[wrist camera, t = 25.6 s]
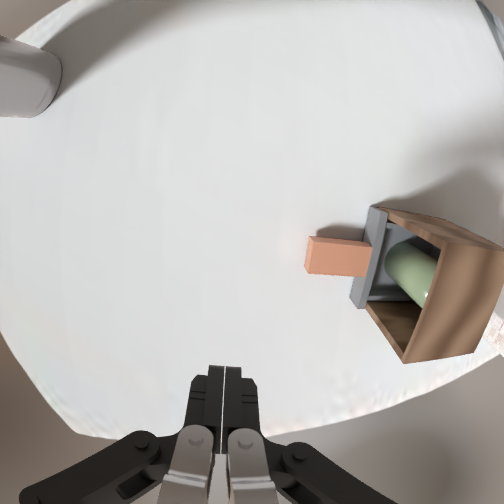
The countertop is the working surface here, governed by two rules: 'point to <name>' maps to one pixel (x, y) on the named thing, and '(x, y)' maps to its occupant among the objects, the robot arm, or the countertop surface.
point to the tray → (376, 269)
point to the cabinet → (444, 293)
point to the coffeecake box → (495, 333)
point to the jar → (411, 270)
